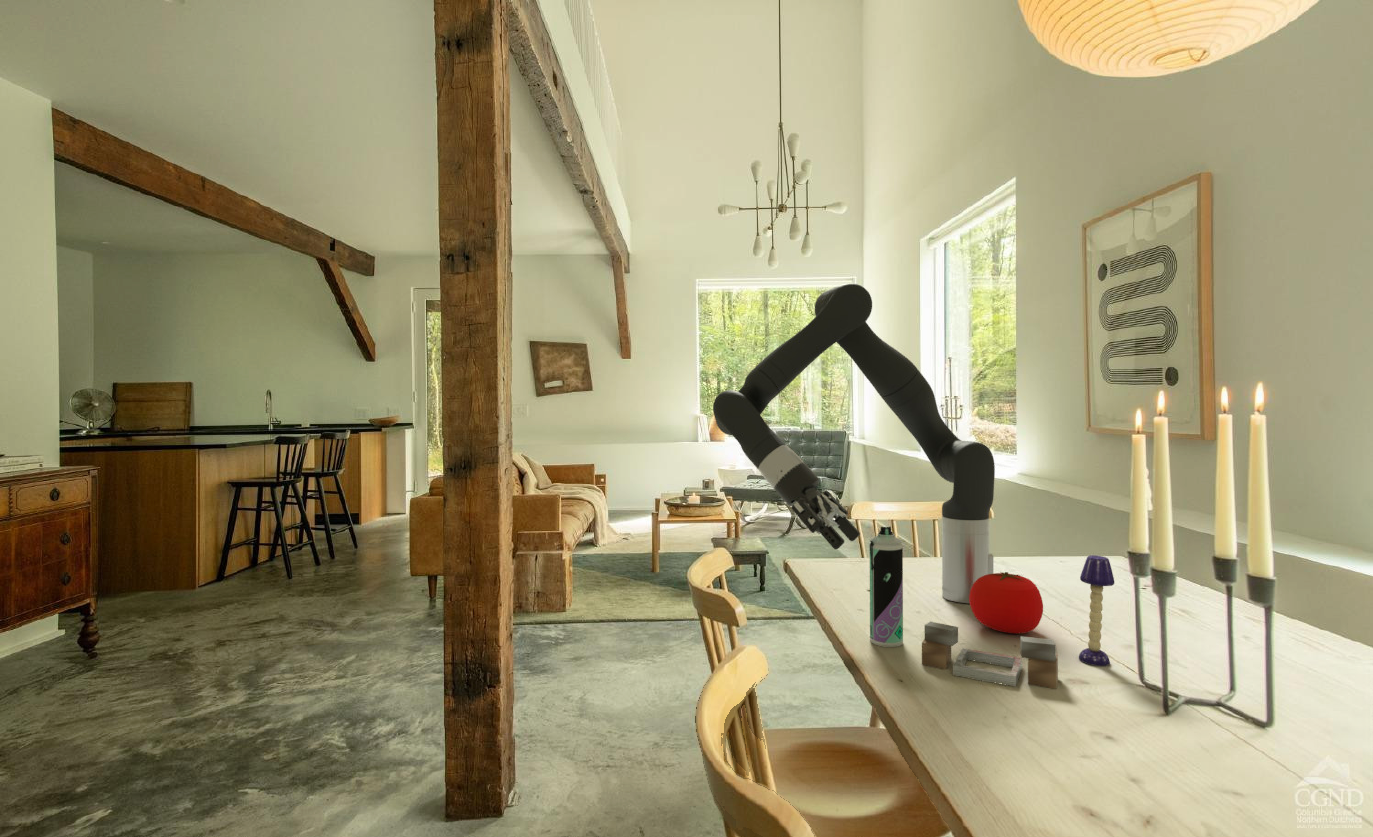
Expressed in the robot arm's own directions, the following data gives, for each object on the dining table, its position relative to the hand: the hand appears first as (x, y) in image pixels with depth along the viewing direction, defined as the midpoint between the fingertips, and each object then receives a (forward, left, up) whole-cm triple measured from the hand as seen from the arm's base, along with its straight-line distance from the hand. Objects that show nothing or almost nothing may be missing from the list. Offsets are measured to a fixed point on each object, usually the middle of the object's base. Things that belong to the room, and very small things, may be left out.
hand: (848, 542), depth 122 cm
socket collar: (-13, +21, -17) cm, 29 cm away
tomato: (-29, +5, -17) cm, 34 cm away
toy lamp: (-32, +22, -17) cm, 42 cm away
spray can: (-5, +5, -17) cm, 18 cm away
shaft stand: (-13, +21, -17) cm, 29 cm away
